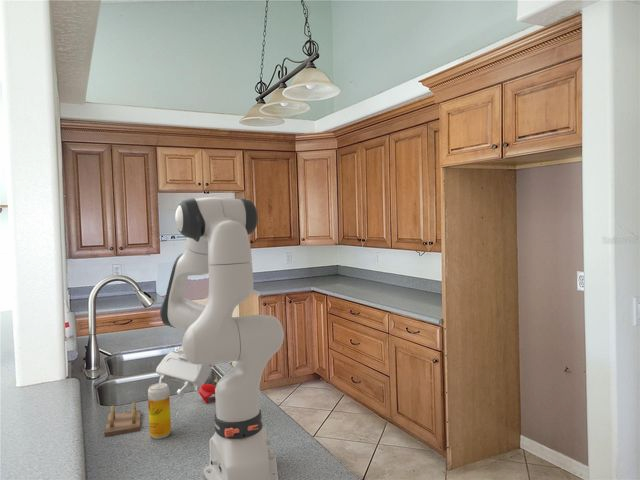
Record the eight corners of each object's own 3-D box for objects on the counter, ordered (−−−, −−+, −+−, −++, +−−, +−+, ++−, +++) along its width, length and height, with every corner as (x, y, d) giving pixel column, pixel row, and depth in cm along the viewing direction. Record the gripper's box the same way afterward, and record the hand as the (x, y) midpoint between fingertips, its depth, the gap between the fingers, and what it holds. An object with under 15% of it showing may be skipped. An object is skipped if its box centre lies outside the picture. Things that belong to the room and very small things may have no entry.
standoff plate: (140, 430, 146) (139, 413, 146) (104, 436, 143) (103, 419, 143) (140, 413, 160) (139, 398, 159) (108, 418, 156) (107, 403, 156)
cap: (199, 397, 164) (214, 386, 165) (194, 386, 168) (208, 376, 170) (210, 409, 168) (224, 399, 170) (205, 399, 173) (219, 389, 174)
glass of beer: (147, 434, 143) (144, 386, 142) (166, 428, 147) (164, 381, 146) (154, 441, 139) (151, 391, 138) (174, 435, 142) (172, 386, 142)
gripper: (166, 344, 157) (141, 382, 149) (208, 352, 145) (183, 394, 137) (178, 354, 161) (154, 391, 153) (219, 363, 149) (196, 404, 141)
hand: (168, 393), depth 145 cm, fingers open, 8 cm apart
